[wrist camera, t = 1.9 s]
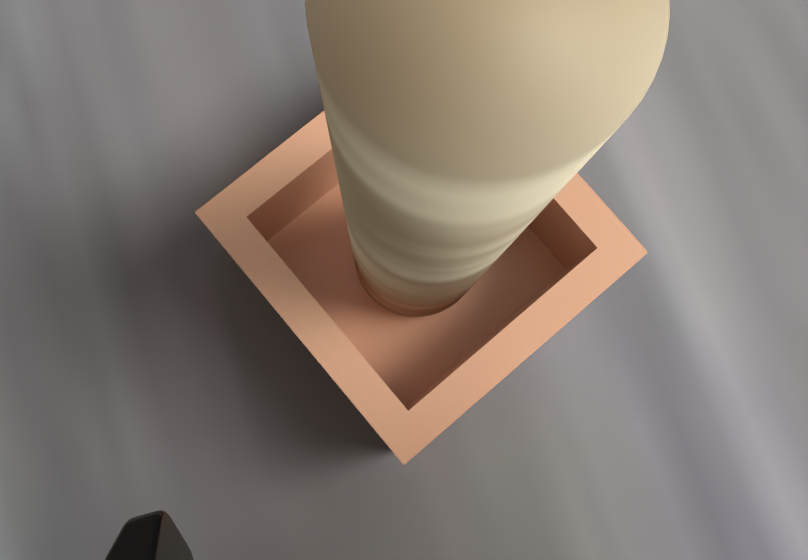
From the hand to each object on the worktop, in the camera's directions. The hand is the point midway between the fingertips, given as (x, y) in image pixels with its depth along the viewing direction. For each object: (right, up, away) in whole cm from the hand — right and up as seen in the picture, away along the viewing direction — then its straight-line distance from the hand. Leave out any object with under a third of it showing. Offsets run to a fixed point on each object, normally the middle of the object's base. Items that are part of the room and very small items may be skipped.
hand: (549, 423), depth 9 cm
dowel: (-1, +2, +11) cm, 11 cm away
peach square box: (-1, +2, +11) cm, 12 cm away
